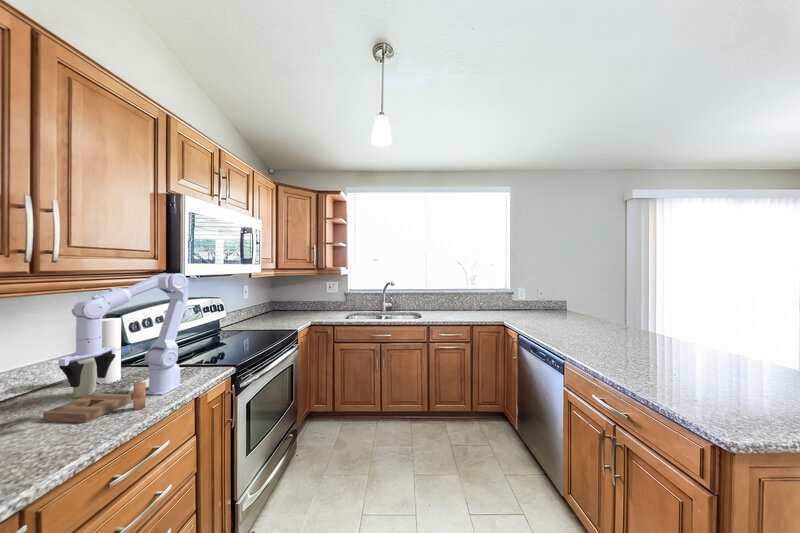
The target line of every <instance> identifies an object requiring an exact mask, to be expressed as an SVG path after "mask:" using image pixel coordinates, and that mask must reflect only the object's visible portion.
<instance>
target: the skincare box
mask: <svg viewBox="0 0 800 533" xmlns="http://www.w3.org/2000/svg"><path fill="white" fill-rule="evenodd" d="M78 363H79V364H84V366H83V368H82V371H81V376H80V386H79V387H72V388H73V389H72V398H73V399H75V398H83V397H85V396H88V395H91V394H94V392H95V391H96V390H97V383H96V376H97V366H96V362H95V359H94V358H90V359H86V360H83V361H79V362H78Z"/></svg>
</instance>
